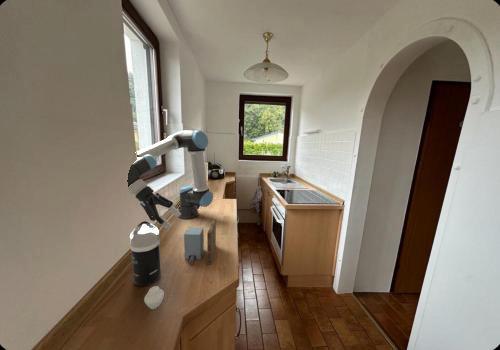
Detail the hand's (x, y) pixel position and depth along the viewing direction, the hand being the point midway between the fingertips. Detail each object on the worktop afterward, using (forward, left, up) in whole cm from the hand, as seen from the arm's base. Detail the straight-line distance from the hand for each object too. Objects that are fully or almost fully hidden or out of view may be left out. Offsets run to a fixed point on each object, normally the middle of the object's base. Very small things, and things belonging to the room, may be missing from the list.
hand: (174, 221), depth 90 cm
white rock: (+30, +3, -18) cm, 35 cm away
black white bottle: (+17, -6, -18) cm, 25 cm away
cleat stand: (0, +14, -18) cm, 23 cm away
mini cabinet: (0, +9, -18) cm, 20 cm away
